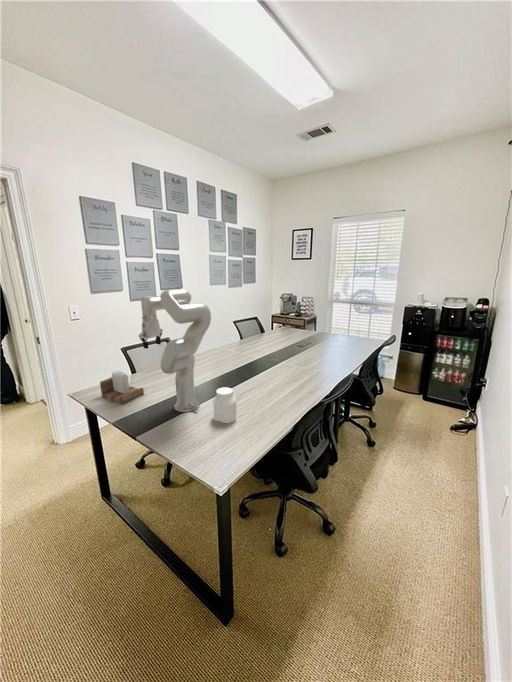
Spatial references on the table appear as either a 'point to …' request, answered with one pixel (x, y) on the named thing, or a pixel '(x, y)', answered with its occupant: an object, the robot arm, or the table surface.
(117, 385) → the photo printer
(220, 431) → the table surface
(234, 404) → the jar
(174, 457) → the table surface
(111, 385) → the cleat board
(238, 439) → the table surface
